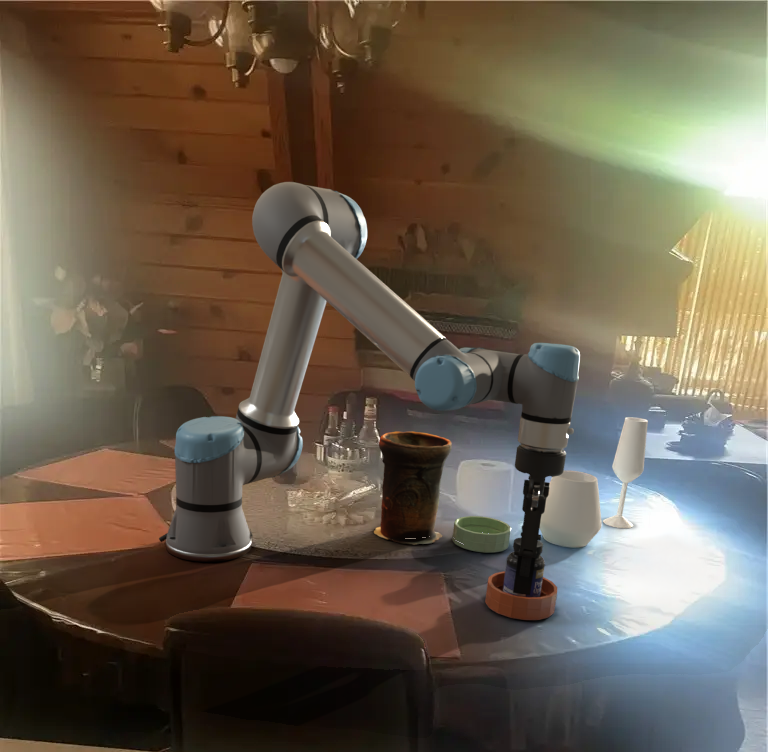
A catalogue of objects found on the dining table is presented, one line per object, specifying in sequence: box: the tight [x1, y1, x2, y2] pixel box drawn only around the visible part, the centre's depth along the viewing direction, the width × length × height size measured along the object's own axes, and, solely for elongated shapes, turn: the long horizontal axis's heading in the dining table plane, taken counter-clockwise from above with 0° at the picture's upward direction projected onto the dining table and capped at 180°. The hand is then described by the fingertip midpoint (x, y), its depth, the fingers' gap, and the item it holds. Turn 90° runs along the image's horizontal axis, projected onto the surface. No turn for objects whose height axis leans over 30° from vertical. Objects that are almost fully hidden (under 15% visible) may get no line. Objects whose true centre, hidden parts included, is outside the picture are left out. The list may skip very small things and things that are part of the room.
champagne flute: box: [602, 416, 649, 529], centre depth 169 cm, size 7×7×24 cm
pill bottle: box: [503, 536, 546, 597], centre depth 123 cm, size 6×6×11 cm
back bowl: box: [452, 515, 512, 553], centre depth 152 cm, size 11×11×4 cm
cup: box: [539, 469, 603, 548], centre depth 156 cm, size 13×13×14 cm
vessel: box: [373, 431, 453, 546], centre depth 152 cm, size 14×14×20 cm
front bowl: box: [484, 570, 558, 621], centre depth 124 cm, size 11×11×4 cm
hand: (522, 584), depth 123 cm, fingers closed on pill bottle, 6 cm apart
